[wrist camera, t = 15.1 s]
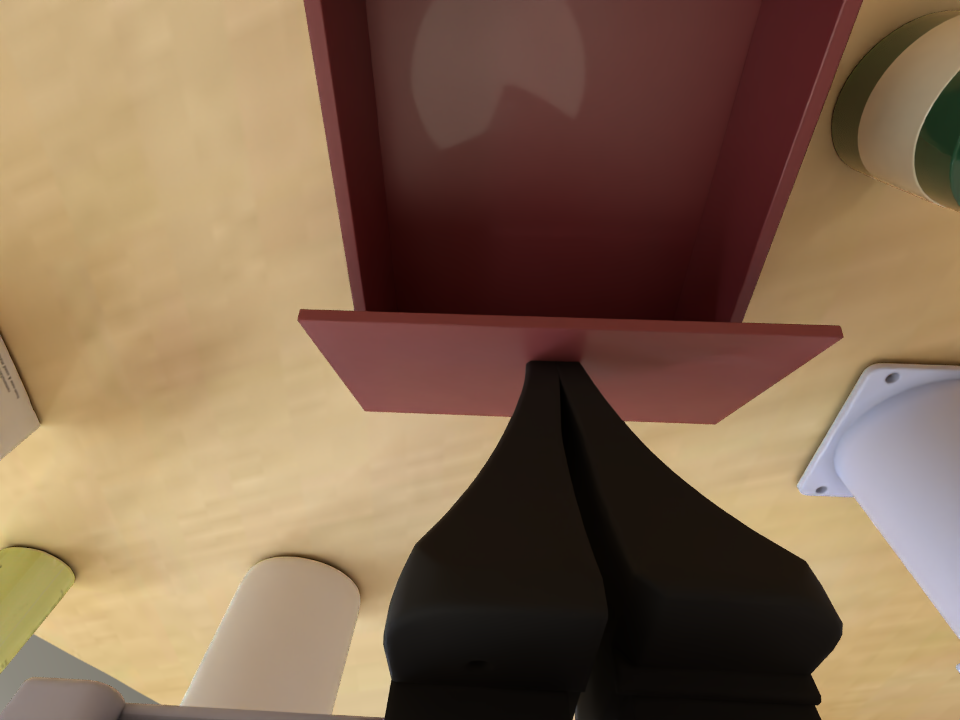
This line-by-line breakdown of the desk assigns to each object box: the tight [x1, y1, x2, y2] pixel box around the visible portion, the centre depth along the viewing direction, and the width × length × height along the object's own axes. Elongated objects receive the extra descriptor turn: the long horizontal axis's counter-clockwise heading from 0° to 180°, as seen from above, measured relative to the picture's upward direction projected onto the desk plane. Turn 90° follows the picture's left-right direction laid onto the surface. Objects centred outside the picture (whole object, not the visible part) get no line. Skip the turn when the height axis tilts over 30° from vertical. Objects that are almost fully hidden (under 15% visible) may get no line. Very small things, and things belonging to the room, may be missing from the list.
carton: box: [304, 0, 863, 323], centre depth 15 cm, size 12×13×4 cm
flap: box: [298, 309, 843, 424], centre depth 13 cm, size 12×6×1 cm, turn 90°
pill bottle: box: [180, 557, 360, 715], centre depth 26 cm, size 8×8×15 cm
